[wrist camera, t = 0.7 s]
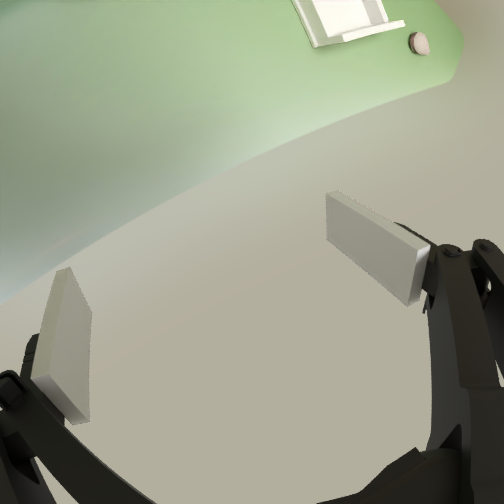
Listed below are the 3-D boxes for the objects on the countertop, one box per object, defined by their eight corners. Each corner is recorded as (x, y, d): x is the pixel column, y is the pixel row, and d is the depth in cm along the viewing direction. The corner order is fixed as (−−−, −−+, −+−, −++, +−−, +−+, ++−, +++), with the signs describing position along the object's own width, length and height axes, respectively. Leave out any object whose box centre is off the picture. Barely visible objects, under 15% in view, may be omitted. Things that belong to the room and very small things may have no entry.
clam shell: (411, 28, 39) (421, 27, 37) (427, 45, 42) (437, 45, 39) (404, 45, 40) (414, 45, 38) (421, 62, 43) (431, 62, 41)
